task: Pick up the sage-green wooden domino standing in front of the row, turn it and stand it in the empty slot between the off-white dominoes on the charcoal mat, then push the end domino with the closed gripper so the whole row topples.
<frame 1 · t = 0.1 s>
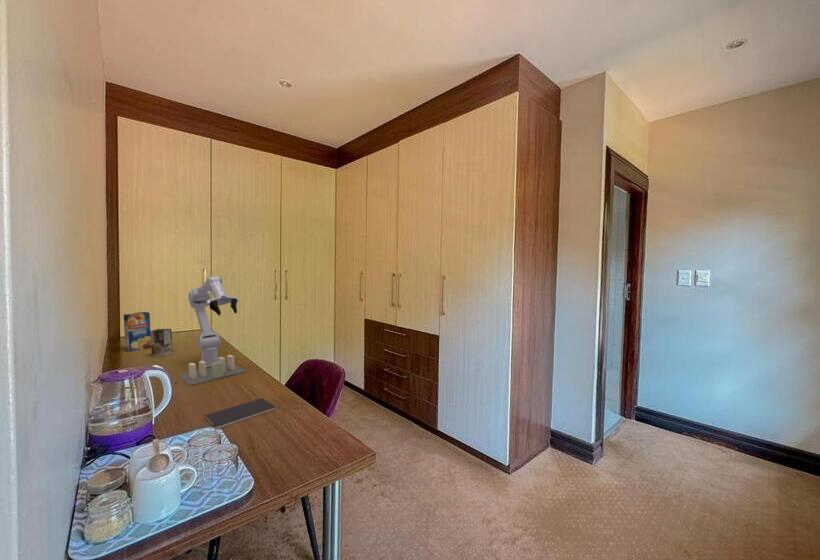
hand: (228, 313, 169), 32 cm above the table, tool tilted 50°, fingers open, 7 cm apart
domino 2: (222, 370, 177), resting on charcoal mat
sage domino: (217, 376, 168), resting on charcoal mat
domino 3: (203, 375, 170), resting on charcoal mat
blue food box: (138, 349, 225), on the table
notebook: (241, 415, 128), on the table
coffee box: (162, 355, 210), on the table
domino 4: (192, 377, 167), resting on charcoal mat
charcoal mat: (212, 373, 174), on the table
domino 1: (231, 368, 181), resting on charcoal mat
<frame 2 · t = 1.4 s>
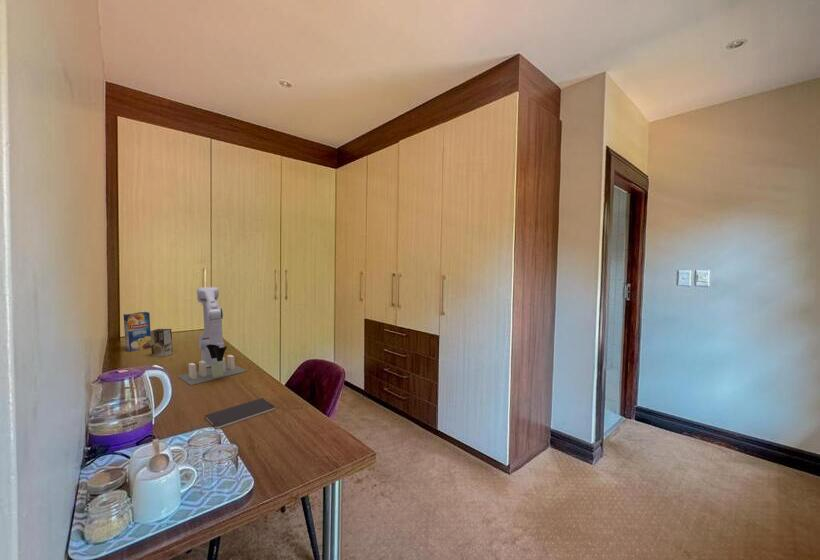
hand: (216, 359, 168), 9 cm above the table, tool pointing down, fingers open, 7 cm apart
nothing on the table moved.
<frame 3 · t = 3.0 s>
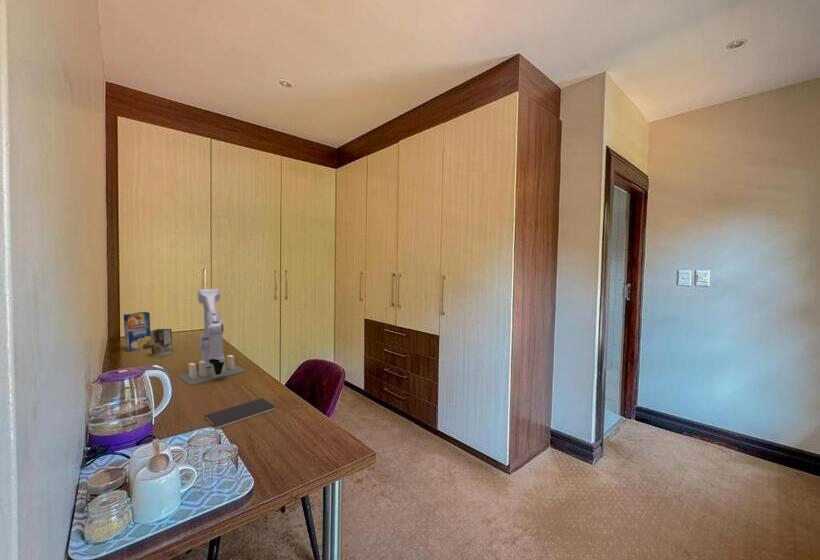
hand: (217, 373, 168), 2 cm above the table, tool pointing down, fingers closed on sage domino, 2 cm apart
sage domino: (217, 376, 168), resting on charcoal mat, touching gripper
everything else where it was.
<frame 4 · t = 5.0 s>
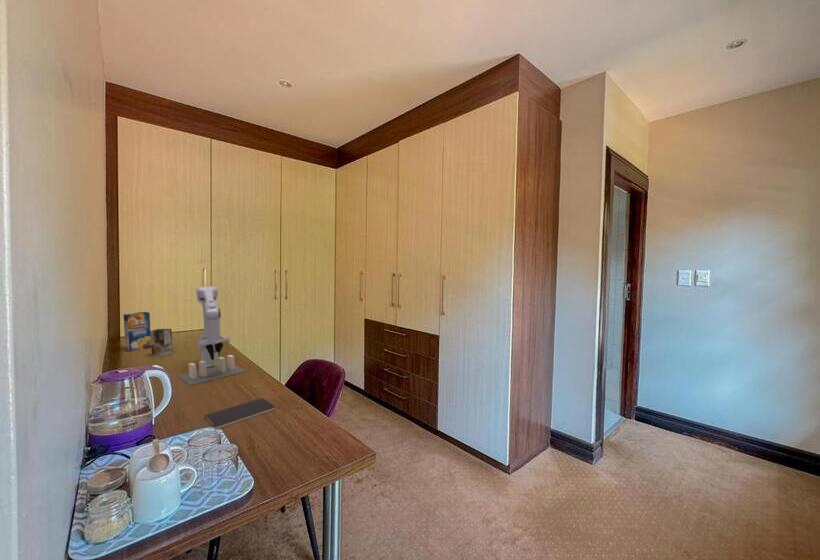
hand: (214, 358, 170), 9 cm above the table, tool pointing down, fingers closed on sage domino
sage domino: (215, 365, 170), point 6 cm above the table, touching gripper
everything else where it was.
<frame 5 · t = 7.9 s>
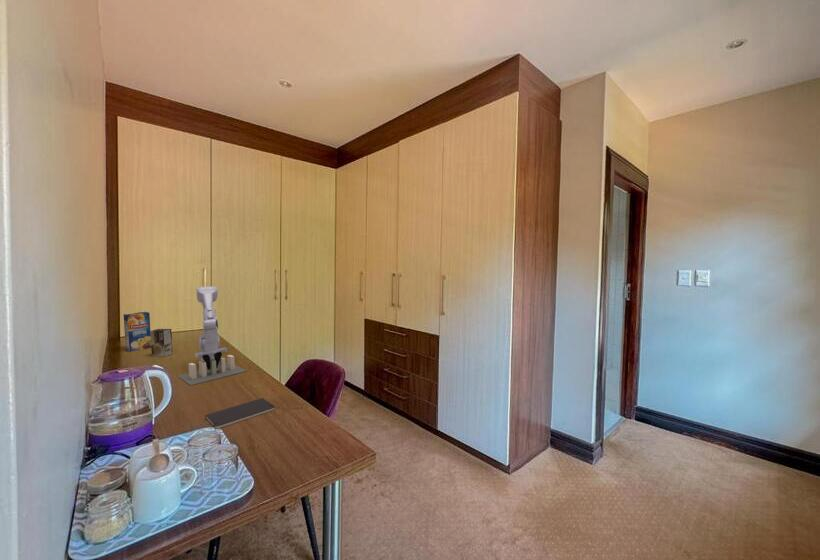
hand: (212, 368, 174), 3 cm above the table, tool pointing down, fingers open, 3 cm apart
sage domino: (212, 373, 174), resting on charcoal mat
everything else where it was.
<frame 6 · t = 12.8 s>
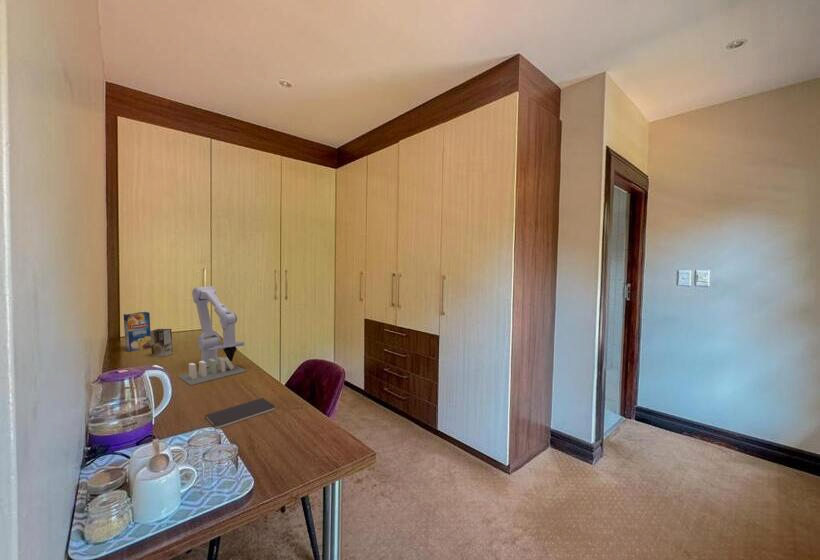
hand: (230, 361, 180), 5 cm above the table, tool pointing down, fingers closed
domino 1: (230, 368, 180), point 1 cm above the table, tilted 26°, touching charcoal mat
everything else where it was.
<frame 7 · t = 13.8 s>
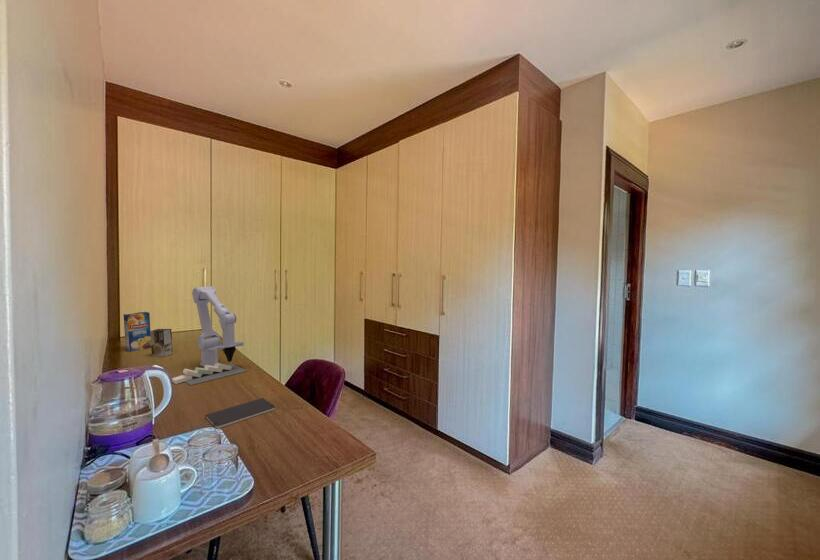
hand: (229, 361, 180), 5 cm above the table, tool pointing down, fingers closed
domino 2: (220, 369, 176), point 1 cm above the table, tilted 66°, touching charcoal mat, domino 1, sage domino
sage domino: (211, 371, 173), point 1 cm above the table, tilted 67°, touching charcoal mat, domino 2, domino 3
domino 3: (199, 374, 169), point 1 cm above the table, tilted 61°, touching charcoal mat, domino 4, sage domino
domino 4: (190, 376, 166), point 2 cm above the table, tilted 95°, touching charcoal mat, domino 3
domino 1: (229, 367, 180), point 1 cm above the table, tilted 67°, touching charcoal mat, domino 2
everything else where it was.
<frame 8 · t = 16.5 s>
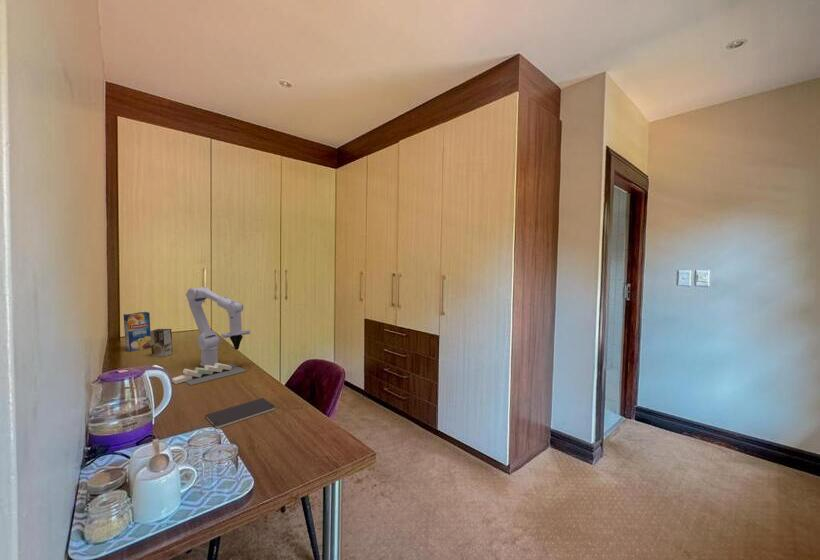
hand: (236, 349, 184), 10 cm above the table, tool pointing down, fingers closed
nothing on the table moved.
at the end: sage domino moved 8.0 cm from its start; sage domino tilted 67°; domino 4 tilted 95° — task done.
